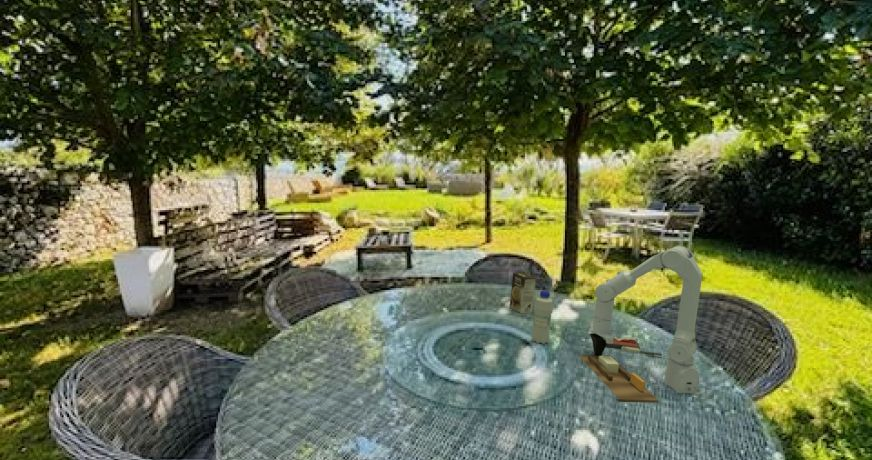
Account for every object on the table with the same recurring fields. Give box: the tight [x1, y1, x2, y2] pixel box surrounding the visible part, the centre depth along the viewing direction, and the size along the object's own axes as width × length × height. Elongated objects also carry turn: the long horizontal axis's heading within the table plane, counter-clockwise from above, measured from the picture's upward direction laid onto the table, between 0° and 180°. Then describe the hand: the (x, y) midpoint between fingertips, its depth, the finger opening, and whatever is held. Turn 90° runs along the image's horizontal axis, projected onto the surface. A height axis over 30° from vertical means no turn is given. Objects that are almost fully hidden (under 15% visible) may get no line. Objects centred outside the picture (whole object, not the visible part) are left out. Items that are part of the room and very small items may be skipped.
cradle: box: [578, 354, 659, 404], centre depth 155 cm, size 30×12×2 cm, turn 6°
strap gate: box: [630, 372, 646, 391], centre depth 148 cm, size 1×6×3 cm, turn 11°
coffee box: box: [509, 271, 537, 314], centre depth 215 cm, size 9×6×16 cm
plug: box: [598, 355, 620, 373], centre depth 160 cm, size 6×4×3 cm, turn 6°
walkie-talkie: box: [605, 336, 663, 357], centre depth 179 cm, size 9×4×20 cm
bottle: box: [531, 289, 554, 345], centre depth 178 cm, size 7×7×20 cm
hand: (597, 355), depth 168 cm, fingers closed
